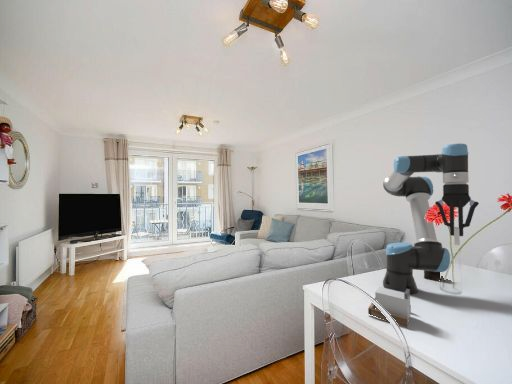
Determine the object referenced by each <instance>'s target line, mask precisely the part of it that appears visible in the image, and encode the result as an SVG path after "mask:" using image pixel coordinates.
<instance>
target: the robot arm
mask: <svg viewBox="0 0 512 384" xmlns="http://www.w3.org/2000/svg"><path fill="white" fill-rule="evenodd" d="M431 172H432V173H442V183H443V186H442V191H443V192H442V193H443V194H442V197H441V199H439V200H438V201H435V205H436V206H437V207H438V209H439V212H440V215H441V219H442V222H443V224H444V226H446V227H449V235H450V236H453V245H454V246H461V245H460V244H461V243H460V237H463V236H464V228H468V227H470V225H471V222H472V220H473V216H474V213H475V209H476V208H477V206H478V205H479V202H478V201H475V200H473V199H471V198H472V197H471V196H470V194H469V193H470V189H469V188H470V187H469V184H468V183H469V182H470V181H469V150H468V144H466V143H461V142H460V143H452V144H447V145H444V146H443V147H442V151H441V154H440V153H438V154H424V155H423V154H422V155H402V156H397V157H395V158H394V160H393V171H392V172H391V174H390V175H389V176H387V177H386V178H385V179H384V181H383V189H384V191H385V192H386V193H387V194H389V195H391V196H395V197H405V199H406V201H407V202H409V204H410V209H411V210H410V212H411V217H412V222H413V227H414V232H415V238H416V241H415V242H414V244H412V243H410V242H391V243H389V244H386V250H385V260H386V265H385V268H386V272H385V274H384V277H383V280H382V286H383V288H386V289H391V290H395V291H399V292H403V293H405V291H406V289H410V295H413V294H416V293H417V292H418V286H417V283H416V281H415V278H414V276H413V275H414V274H413V271H416V270H417V271H423V272H424V271H434V272H442V273H444V272H446V271H447V270H448V269H449V267H450V264H451V263H450V262H451V254H450V251H449V249H447V248H445V247H443V244H442V242H440V241H439V240H438V239H437V234H436V230H435V226H434V225H435V224H434V221H433V222H432V223H427V221H426V220H425V219H424V216H425V214H426V212H427V210H428V209H430V210H431V207H430V204H429V200H430V199H431V197H432V196H433V194H434V184H433V182H432V180H431V179H430V178H429V177H427V176H412V175H413V174H414V173H431ZM444 203H445V205H446V206H447V207H448V208H449V222H448V219H447V216H446V214H445V211H444V208H443V205H444ZM468 203H469V209H468V213H467V216H466V218H465V222H464V207H465V206H466V205H468ZM455 208H457V210H458V212H457V213H458V215H457V217H458V226H455Z"/></svg>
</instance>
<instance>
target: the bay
mask: <svg viewBox="0 0 512 384" xmlns="http://www.w3.org/2000/svg"><path fill="white" fill-rule="evenodd" d="M411 306H412V305H411V304H410V314H411V311H412V309H411ZM375 308H376V306H375V305H374V304H373V303H372V302H371V303H370V305H369V307H368V310H367V311H368V314H370V315H373V316H376V317H378V318H381V319H384V320H386V321H385V322H387V321H388V320H387V319H386V317H385V316H384V315H383V314H382V313H381V311H380V310H376V309H375ZM391 316H392V317H393V318H394V319H395V320H396V322H397V323H398V324H399V325H398V326H401V327H404V328H408V324H407V318H405V317H401V316H398V315H394V314H391ZM384 320H383V321H384Z"/></svg>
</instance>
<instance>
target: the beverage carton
mask: <svg viewBox="0 0 512 384" xmlns="http://www.w3.org/2000/svg"><path fill="white" fill-rule="evenodd" d="M423 279H426V280H431V281H435V282H440V281H439V280H440V272H434V271H424V270H423Z"/></svg>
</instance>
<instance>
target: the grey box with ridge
mask: <svg viewBox="0 0 512 384" xmlns="http://www.w3.org/2000/svg"><path fill="white" fill-rule="evenodd" d="M374 292H375V293H374V294H375V297H374V299H375V300H377V301H378V302H379V303H380V304H381V305H382V306H383V307H384V308H385V309H386V310H387V311H388V312H389V313H390V314H394V315H398V316H401V317H405V318H407V325H408V324H409V321H410V319H411V313H410V305H411V294H410V289H406V291H405V293H403V292H399V291H395V290H391V289H386V288H385V287H382V286H378V288H377V289H376V291H374ZM376 310H379V309H378V308H377V307H376Z"/></svg>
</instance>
